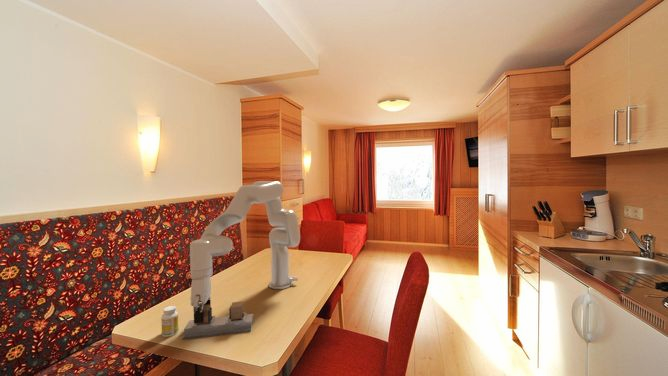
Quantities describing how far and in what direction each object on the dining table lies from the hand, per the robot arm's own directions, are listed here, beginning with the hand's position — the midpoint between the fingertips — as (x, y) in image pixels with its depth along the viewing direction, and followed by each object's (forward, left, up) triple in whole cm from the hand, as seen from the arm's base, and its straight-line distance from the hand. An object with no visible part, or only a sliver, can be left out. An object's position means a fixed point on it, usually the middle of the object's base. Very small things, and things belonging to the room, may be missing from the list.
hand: (202, 315), depth 100 cm
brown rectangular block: (0, 0, -3) cm, 3 cm away
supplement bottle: (+12, 0, -6) cm, 13 cm away
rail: (-6, 0, -6) cm, 8 cm away
